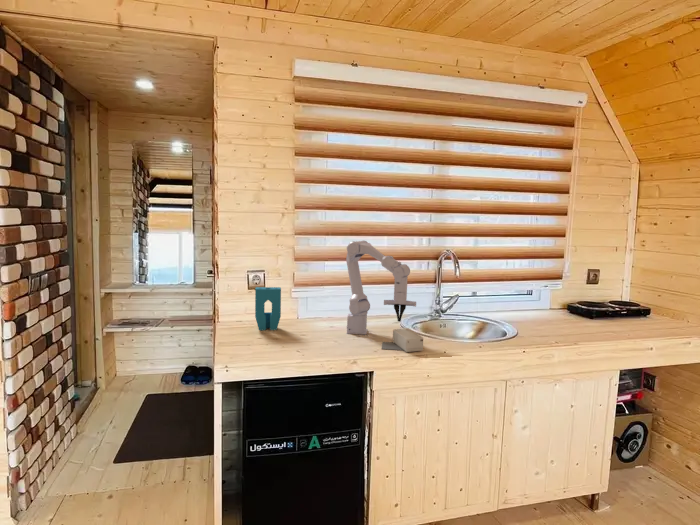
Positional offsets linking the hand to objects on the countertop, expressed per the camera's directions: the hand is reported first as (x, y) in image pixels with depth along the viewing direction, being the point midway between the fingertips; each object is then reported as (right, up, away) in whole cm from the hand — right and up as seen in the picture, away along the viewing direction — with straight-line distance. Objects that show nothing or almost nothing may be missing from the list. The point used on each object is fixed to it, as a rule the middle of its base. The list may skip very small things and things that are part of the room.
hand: (399, 321), depth 208 cm
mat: (-1, -10, -7) cm, 13 cm away
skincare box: (+1, -6, 0) cm, 6 cm away
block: (-62, -6, +15) cm, 64 cm away
